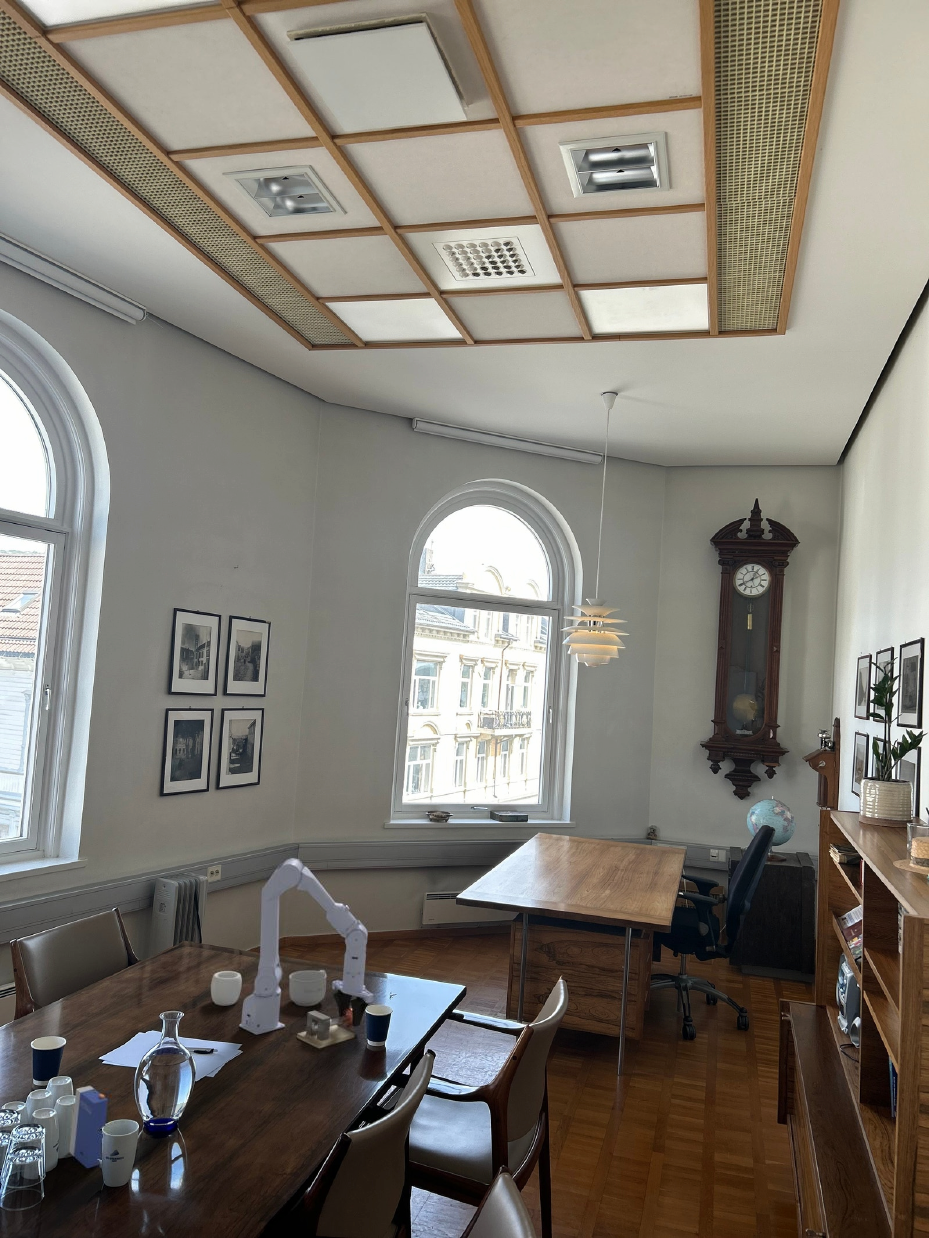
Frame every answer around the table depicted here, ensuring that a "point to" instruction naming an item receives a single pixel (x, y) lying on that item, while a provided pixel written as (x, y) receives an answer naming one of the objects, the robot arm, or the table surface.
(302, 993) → the teacup
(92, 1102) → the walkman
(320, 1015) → the eye bracket
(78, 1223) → the table surface
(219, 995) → the mug
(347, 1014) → the hook rod
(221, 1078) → the table surface
